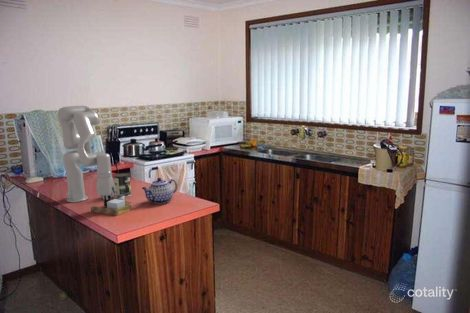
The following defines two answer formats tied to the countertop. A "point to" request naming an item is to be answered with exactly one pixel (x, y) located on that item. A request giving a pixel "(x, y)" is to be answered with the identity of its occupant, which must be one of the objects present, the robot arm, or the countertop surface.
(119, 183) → the coffee can
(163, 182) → the teapot
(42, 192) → the countertop surface
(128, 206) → the bay
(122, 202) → the white rectangular block
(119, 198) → the winch
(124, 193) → the crank
